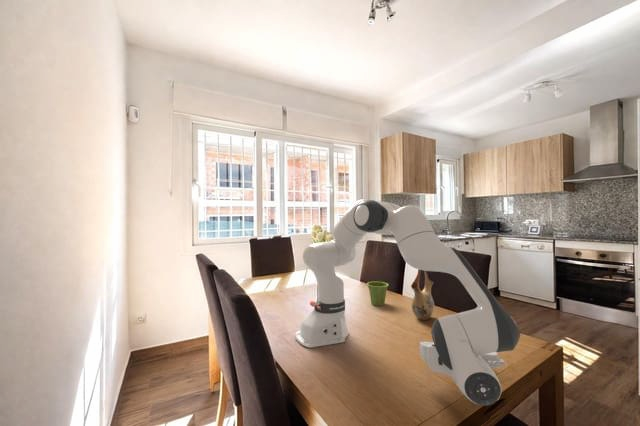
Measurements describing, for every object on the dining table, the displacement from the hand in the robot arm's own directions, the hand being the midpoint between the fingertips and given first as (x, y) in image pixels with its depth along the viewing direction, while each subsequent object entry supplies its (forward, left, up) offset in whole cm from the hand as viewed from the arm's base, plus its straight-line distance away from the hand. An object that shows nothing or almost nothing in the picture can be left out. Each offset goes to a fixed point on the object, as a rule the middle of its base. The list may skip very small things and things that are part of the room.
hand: (451, 345), depth 83 cm
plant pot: (+21, +61, -9) cm, 65 cm away
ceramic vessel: (+26, +34, -9) cm, 44 cm away
